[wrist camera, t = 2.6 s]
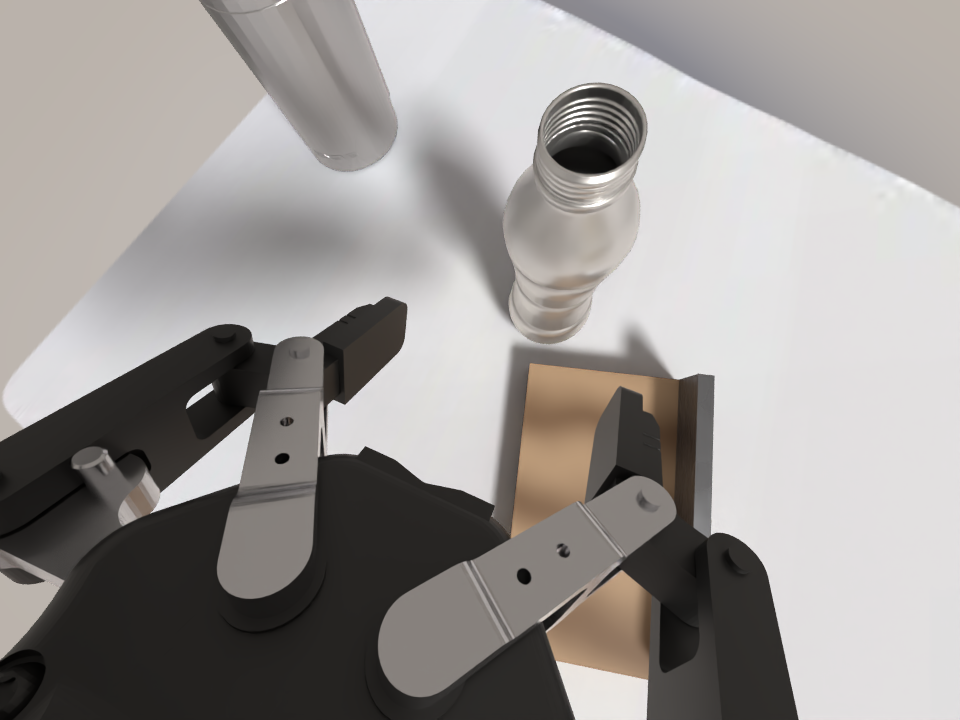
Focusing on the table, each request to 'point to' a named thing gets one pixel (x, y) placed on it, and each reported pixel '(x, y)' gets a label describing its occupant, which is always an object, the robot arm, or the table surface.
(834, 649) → the table surface
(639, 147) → the silver bottle
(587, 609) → the shelf board
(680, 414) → the rail
